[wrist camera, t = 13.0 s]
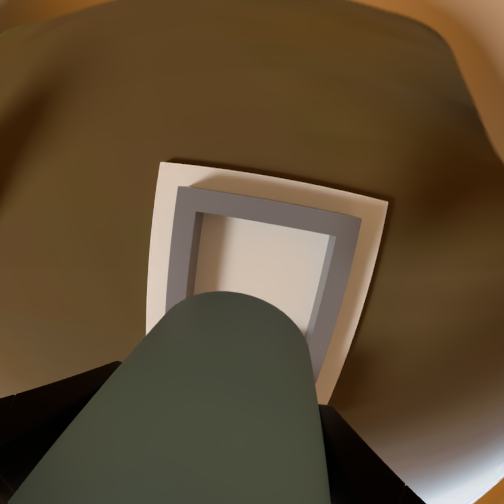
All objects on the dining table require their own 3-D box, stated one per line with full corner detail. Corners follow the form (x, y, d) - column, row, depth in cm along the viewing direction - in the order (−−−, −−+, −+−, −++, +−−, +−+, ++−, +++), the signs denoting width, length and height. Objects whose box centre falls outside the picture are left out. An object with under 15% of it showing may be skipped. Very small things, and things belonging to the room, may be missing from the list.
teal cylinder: (289, 430, 9) (285, 609, 2) (153, 402, 9) (68, 554, 2) (329, 307, 8) (415, 571, 1) (154, 275, 8) (-50, 436, 1)
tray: (299, 456, 21) (300, 475, 19) (152, 427, 22) (143, 444, 20) (384, 201, 16) (399, 203, 14) (164, 162, 17) (148, 159, 15)
